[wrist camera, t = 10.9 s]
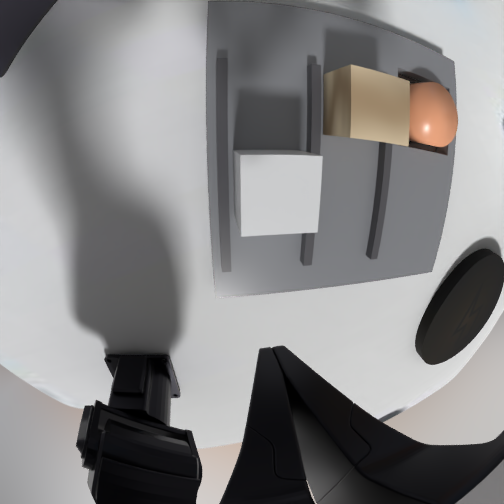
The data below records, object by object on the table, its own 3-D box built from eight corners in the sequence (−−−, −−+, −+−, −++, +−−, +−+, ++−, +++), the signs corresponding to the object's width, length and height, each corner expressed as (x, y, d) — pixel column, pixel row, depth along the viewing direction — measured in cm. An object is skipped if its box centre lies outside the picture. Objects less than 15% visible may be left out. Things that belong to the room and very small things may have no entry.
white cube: (297, 212, 17) (317, 232, 14) (234, 215, 17) (241, 236, 14) (299, 150, 16) (322, 156, 12) (233, 150, 15) (240, 155, 12)
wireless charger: (497, 223, 24) (508, 229, 22) (491, 308, 32) (498, 314, 30) (407, 303, 26) (417, 313, 24) (417, 372, 33) (423, 381, 32)
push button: (433, 146, 18) (456, 151, 16) (391, 137, 17) (414, 141, 15) (434, 92, 16) (457, 92, 13) (391, 76, 15) (414, 73, 13)
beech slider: (376, 140, 16) (408, 146, 13) (323, 134, 15) (350, 137, 12) (376, 85, 14) (409, 81, 11) (323, 74, 14) (350, 64, 10)
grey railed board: (422, 264, 23) (436, 275, 21) (214, 287, 20) (216, 304, 18) (442, 62, 15) (460, 60, 13) (207, 10, 12) (208, -5, 10)
